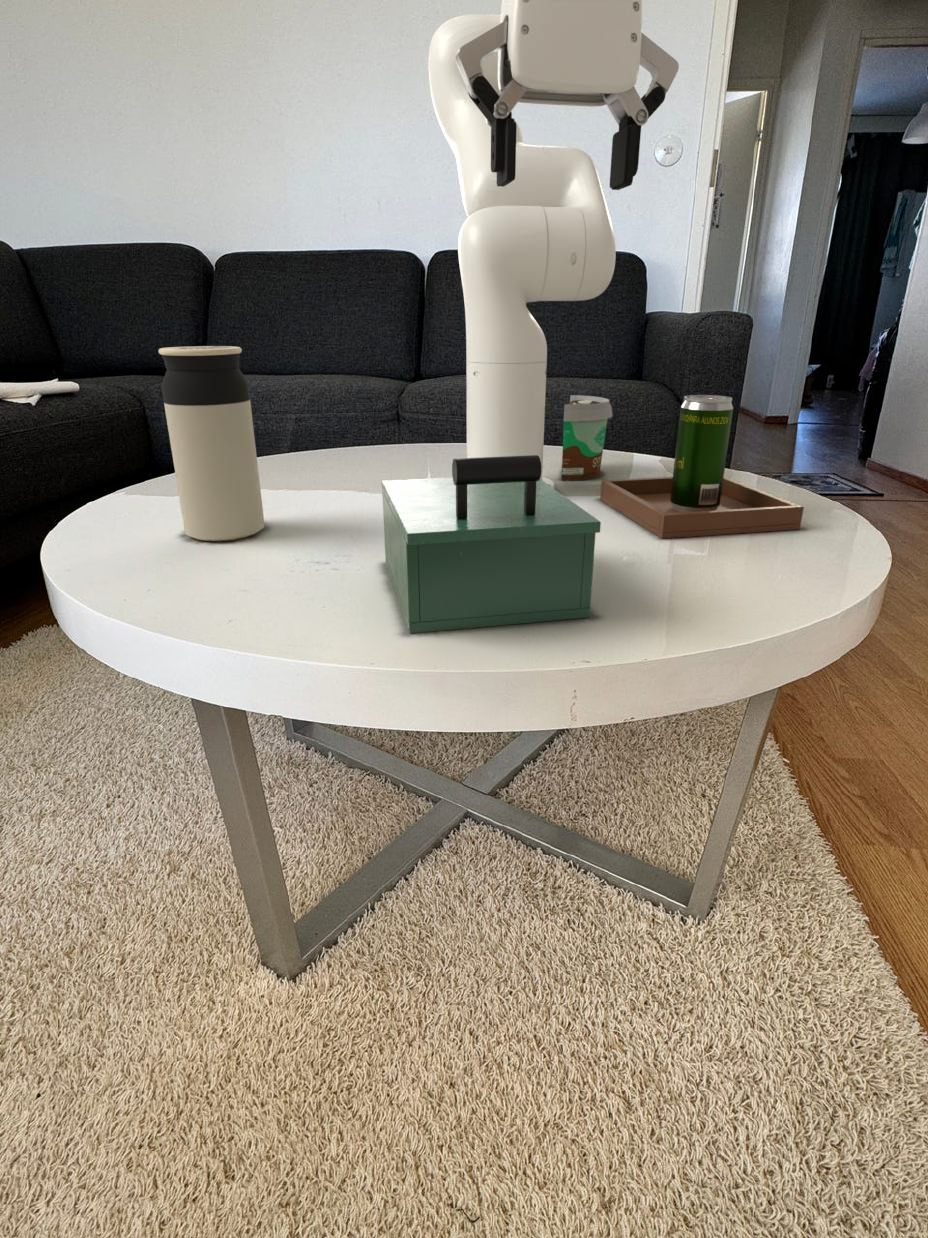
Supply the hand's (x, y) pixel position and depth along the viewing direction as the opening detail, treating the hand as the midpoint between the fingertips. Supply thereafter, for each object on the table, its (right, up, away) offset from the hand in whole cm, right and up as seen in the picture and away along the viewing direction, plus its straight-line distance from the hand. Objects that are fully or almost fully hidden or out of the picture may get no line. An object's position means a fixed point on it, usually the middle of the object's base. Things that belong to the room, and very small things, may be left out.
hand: (564, 185), depth 57 cm
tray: (+18, -23, +24) cm, 37 cm away
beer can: (+18, -22, +24) cm, 37 cm away
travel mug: (-33, -26, +18) cm, 45 cm away
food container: (+9, -14, +44) cm, 47 cm away
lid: (-7, -26, -1) cm, 27 cm away
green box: (-7, -32, +2) cm, 33 cm away
